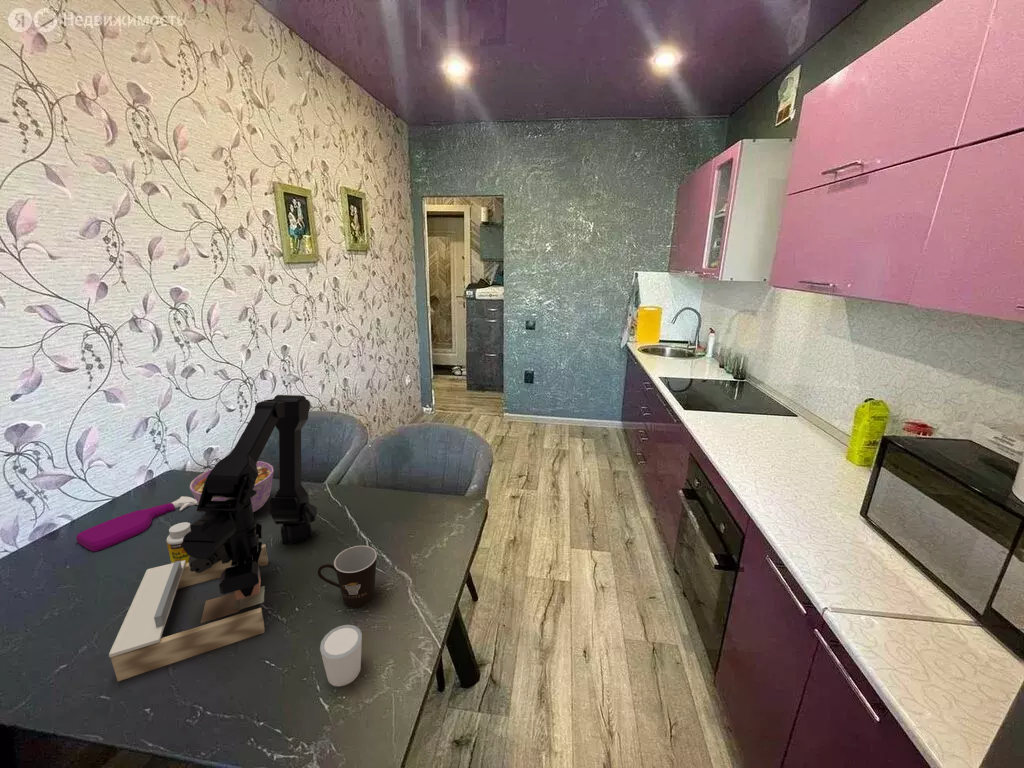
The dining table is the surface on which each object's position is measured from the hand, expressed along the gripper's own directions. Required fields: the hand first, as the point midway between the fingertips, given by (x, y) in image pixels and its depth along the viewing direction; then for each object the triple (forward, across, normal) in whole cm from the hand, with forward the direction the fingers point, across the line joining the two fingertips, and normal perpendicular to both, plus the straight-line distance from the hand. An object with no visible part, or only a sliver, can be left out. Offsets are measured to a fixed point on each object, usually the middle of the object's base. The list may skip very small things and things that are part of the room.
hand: (248, 588), depth 86 cm
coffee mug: (+4, +8, +20) cm, 22 cm away
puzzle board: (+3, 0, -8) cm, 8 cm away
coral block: (0, 0, 0) cm, 0 cm away
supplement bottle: (+4, -20, -14) cm, 25 cm away
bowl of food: (+4, -40, -5) cm, 41 cm away
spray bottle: (+4, -46, -28) cm, 54 cm away
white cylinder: (+4, +26, +16) cm, 31 cm away
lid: (-3, 0, -15) cm, 16 cm away
